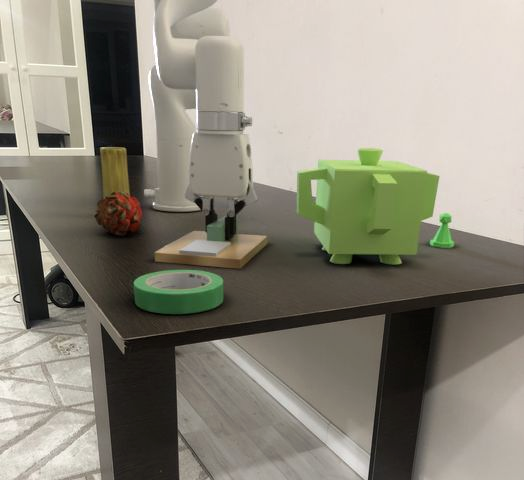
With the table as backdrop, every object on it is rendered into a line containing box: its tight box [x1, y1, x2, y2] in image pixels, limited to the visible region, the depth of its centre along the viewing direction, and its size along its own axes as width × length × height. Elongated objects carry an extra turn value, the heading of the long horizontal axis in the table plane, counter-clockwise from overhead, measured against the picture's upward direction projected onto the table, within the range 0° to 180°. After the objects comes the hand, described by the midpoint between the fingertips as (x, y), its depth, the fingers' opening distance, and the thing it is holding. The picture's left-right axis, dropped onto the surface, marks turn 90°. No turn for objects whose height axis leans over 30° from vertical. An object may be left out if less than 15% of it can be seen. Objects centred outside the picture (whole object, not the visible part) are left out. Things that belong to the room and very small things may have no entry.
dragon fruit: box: [94, 191, 143, 236], centre depth 107 cm, size 8×8×12 cm
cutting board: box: [154, 230, 268, 270], centre depth 95 cm, size 14×18×2 cm
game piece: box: [429, 212, 455, 249], centre depth 103 cm, size 4×4×6 cm
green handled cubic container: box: [296, 147, 440, 265], centre depth 92 cm, size 25×23×17 cm
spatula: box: [179, 214, 239, 257], centre depth 95 cm, size 19×6×3 cm, turn 166°
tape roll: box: [133, 269, 224, 315], centre depth 71 cm, size 11×11×3 cm
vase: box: [99, 146, 131, 199], centre depth 120 cm, size 6×6×14 cm
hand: (221, 237), depth 98 cm, fingers closed on spatula, 2 cm apart
